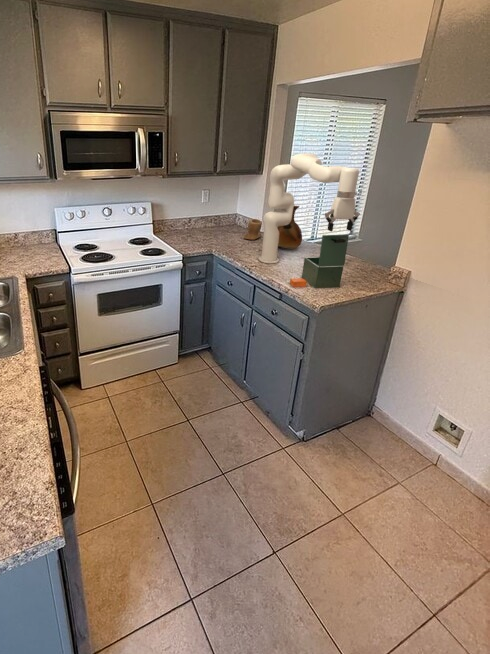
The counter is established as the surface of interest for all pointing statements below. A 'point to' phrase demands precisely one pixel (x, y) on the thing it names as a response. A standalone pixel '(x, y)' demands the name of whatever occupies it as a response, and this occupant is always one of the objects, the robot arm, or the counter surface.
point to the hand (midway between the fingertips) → (339, 230)
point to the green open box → (321, 273)
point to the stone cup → (253, 229)
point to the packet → (298, 282)
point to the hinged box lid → (333, 250)
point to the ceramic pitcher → (290, 234)
